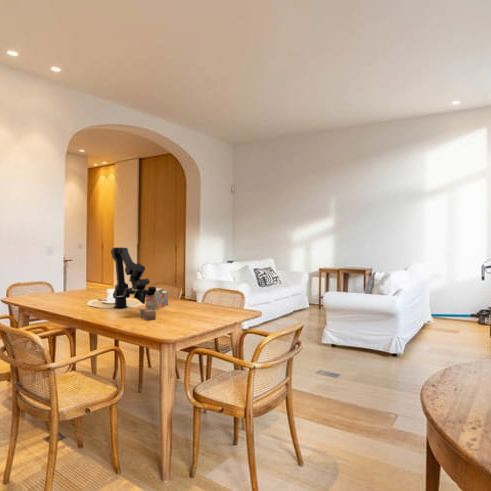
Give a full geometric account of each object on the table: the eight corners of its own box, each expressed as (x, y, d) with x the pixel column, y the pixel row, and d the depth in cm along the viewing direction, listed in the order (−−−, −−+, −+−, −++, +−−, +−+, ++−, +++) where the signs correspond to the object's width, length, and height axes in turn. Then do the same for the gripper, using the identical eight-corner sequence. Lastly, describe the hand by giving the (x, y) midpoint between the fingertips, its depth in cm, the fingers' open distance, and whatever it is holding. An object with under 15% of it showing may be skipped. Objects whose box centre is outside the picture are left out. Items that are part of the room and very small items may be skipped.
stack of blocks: (159, 304, 268) (159, 286, 268) (168, 304, 267) (168, 286, 267) (145, 309, 247) (145, 290, 247) (154, 310, 246) (154, 291, 246)
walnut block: (139, 308, 224) (147, 311, 216) (148, 308, 227) (155, 310, 219) (139, 317, 224) (147, 320, 216) (147, 316, 227) (155, 319, 219)
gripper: (125, 274, 223) (132, 296, 215) (155, 273, 235) (163, 293, 226) (119, 286, 229) (126, 308, 221) (149, 284, 241) (157, 305, 233)
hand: (144, 303), depth 225 cm, fingers closed
